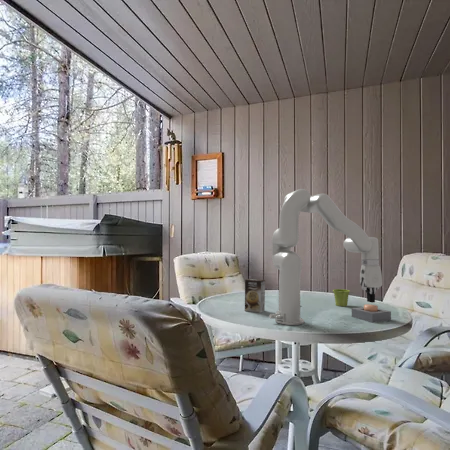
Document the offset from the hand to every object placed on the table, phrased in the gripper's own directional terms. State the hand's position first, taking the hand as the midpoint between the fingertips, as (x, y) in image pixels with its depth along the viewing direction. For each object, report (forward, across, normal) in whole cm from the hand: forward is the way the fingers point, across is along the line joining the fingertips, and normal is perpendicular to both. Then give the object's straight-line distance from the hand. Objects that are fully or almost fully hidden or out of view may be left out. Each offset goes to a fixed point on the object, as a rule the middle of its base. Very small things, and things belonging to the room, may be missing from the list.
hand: (371, 301), depth 150 cm
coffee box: (+8, -43, +35) cm, 56 cm away
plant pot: (+8, +10, +29) cm, 32 cm away
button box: (+8, 0, 0) cm, 8 cm away
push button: (+5, 0, 0) cm, 5 cm away
